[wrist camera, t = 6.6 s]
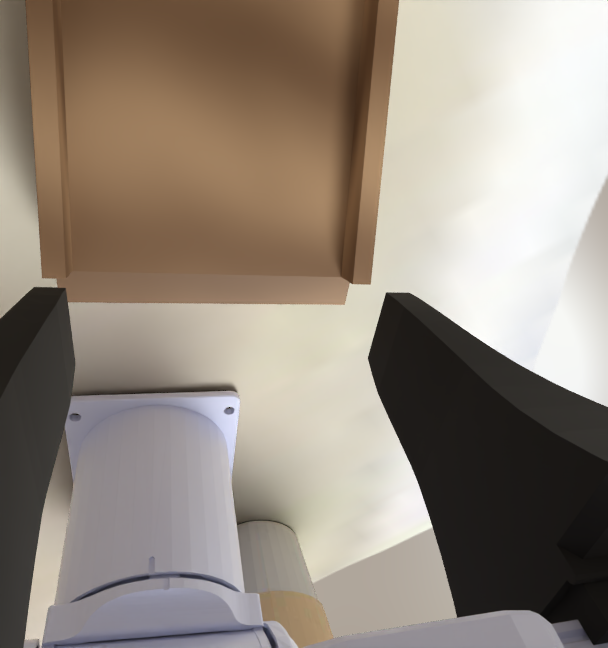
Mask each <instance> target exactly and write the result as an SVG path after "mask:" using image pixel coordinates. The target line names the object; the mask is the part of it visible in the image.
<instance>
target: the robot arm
mask: <svg viewBox="0 0 608 648" xmlns="http://www.w3.org/2000/svg"><path fill="white" fill-rule="evenodd" d="M368 360H369V364H370V368H371V371H372V375H373V379H374V382H375V385H376V388H377V392H378V394H379V396H380V399H381V401H382V403H383V406H384V408H385V410H386V412H387V414H388V417H389V419H390V421H391V423H392V425H393V427H394V430H395V432H396V434H397V436H398V438H399V440H400V443H401V445H402V447H403V449H404V451H405V453H406V455H407V458H408V460H409V462H410V464H411V466H412V469H413V471H414V474H415V476H416V479H417V481H418V484H419V486H420V489H421V492H422V495H423V498H424V501H425V504H426V507H427V510H428V513H429V516H430V520H431V523H432V526H433V530H434V533H435V536H436V539H437V543H438V546H439V549H440V553H441V556H442V560H443V564H444V567H445V571H446V575H447V578H448V582H449V586H450V590H451V594H452V598H453V601H454V605H455V609H456V614H457V618H453V619H446V620H440V621H433V622H427V623H421V624H415V625H409V626H403V627H396V628H389V629H383V630H377V631H370V632H364V633H358V634H352V635H346V636H341V637H337V638H334V639H330V640H327V641H323V642H319V643H316V644H312V645H309V646H305V647H303V648H608V407H606V406H604V405H601V404H599V403H596V402H594V401H592V400H589V399H587V398H585V397H583V396H580V395H578V394H576V393H574V392H571V391H569V390H567V389H565V388H563V387H561V386H559V385H556V384H554V383H552V382H550V381H548V380H546V379H545V378H543V377H541V376H539V375H537V374H535V373H533V372H531V371H530V370H528V369H526V368H524V367H522V366H521V365H519V364H517V363H515V362H514V361H512V360H510V359H509V358H507V357H506V356H504V355H502V354H501V353H499V352H497V351H496V350H494V349H493V348H491V347H490V346H488V345H486V344H485V343H483V342H482V341H480V340H479V339H477V338H476V337H474V336H473V335H471V334H470V333H469V332H467V331H466V330H464V329H463V328H461V327H460V326H458V325H457V324H456V323H454V322H453V321H451V320H450V319H448V318H447V317H446V316H444V315H443V314H441V313H440V312H438V311H437V310H436V309H434V308H433V307H431V306H430V305H428V304H427V303H425V302H424V301H422V300H421V299H419V298H417V297H416V296H414V295H412V294H410V293H386V295H385V299H384V302H383V306H382V309H381V313H380V317H379V320H378V324H377V327H376V331H375V335H374V338H373V342H372V345H371V349H370V352H369V356H368ZM74 371H75V357H74V349H73V341H72V333H71V325H70V317H69V309H68V301H67V292H66V288H50V287H34V288H33V289H32V290H30V291H29V292H28V293H27V294H26V295H25V296H24V297H23V298H22V299H21V300H20V301H18V302H17V303H16V304H15V305H14V306H13V307H12V308H11V309H10V310H9V311H8V312H7V313H6V314H5V315H4V316H3V317H2V318H1V319H0V648H40V645H39V639H31V640H24V639H25V631H26V623H27V615H28V607H29V600H30V592H31V585H32V578H33V571H34V563H35V556H36V550H37V543H38V537H39V530H40V524H41V517H42V512H43V507H44V503H45V498H46V494H47V490H48V486H49V482H50V479H51V475H52V471H53V468H54V464H55V460H56V456H57V453H58V449H59V445H60V442H61V438H62V434H63V430H64V427H65V432H66V438H67V445H68V451H69V458H70V464H71V471H72V478H73V484H74V485H73V492H72V498H71V504H70V510H69V516H68V523H67V529H66V535H65V541H64V548H63V554H62V560H61V566H60V572H59V579H58V585H57V591H56V597H55V603H54V605H52V606H50V607H49V608H48V612H47V618H46V624H45V630H44V636H43V642H42V648H298V646H297V645H296V643H295V642H294V641H293V639H292V638H291V637H290V636H289V634H288V633H287V631H286V630H285V628H284V627H283V626H282V625H281V624H280V623H278V622H277V621H263V618H262V611H261V604H260V597H259V594H257V593H245V589H244V581H243V573H242V564H241V556H240V548H239V540H238V532H237V523H236V515H235V507H234V499H233V491H232V482H231V481H232V472H233V463H234V453H235V444H236V435H237V426H238V417H239V408H240V398H239V395H238V393H236V392H234V391H211V392H181V393H150V394H120V395H90V396H71V395H72V388H73V379H74ZM227 407H232V408H230V409H225V408H227ZM73 413H77V414H79V415H73Z"/></svg>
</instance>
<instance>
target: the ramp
mask: <svg viewBox="0 0 608 648" xmlns="http://www.w3.org/2000/svg"><path fill="white" fill-rule="evenodd" d="M25 2H26V19H27V35H28V52H29V69H30V85H31V102H32V118H33V135H34V151H35V168H36V184H37V201H38V218H39V234H40V251H41V267H42V278H57V286H58V288H66V292H67V301H68V302H107V303H221V304H335V305H345V301H346V296H347V292H348V288H349V283H352V284H371V275H372V265H373V255H374V245H375V235H376V225H377V215H378V205H379V195H380V185H381V175H382V165H383V155H384V145H385V135H386V125H387V115H388V105H389V95H390V85H391V75H392V65H393V55H394V45H395V35H396V25H397V15H398V5H399V0H25Z"/></svg>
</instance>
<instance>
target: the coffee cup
mask: <svg viewBox="0 0 608 648" xmlns="http://www.w3.org/2000/svg"><path fill="white" fill-rule="evenodd" d="M237 532H238V540H239V548H240V556H241V564H242V573H243V581H244V589H245V593H257V594H259V597H260V604H261V611H262V618H263V621H277V622H278V623H280V624H281V625H282V626H283V627H284V628H285V630H286V631H287V633H288V634H289V636H290V637H291V638H292V639H293V641H294V642H295V643H296V645H297V646H298V648H303V647H305V646H309V645H312V644H316V643H319V642H323V641H327V640H330V639H334V638H333V635H332V632H331V629H330V626H329V623H328V621H327V617H326V614H325V611H324V609H323V606H322V604H321V603H320V602H319V601H318V599H317V596H316V593H315V590H314V587H313V584H312V581H311V578H310V575H309V572H308V569H307V566H306V563H305V560H304V557H303V554H302V551H301V549H300V546H299V543H298V540H297V537H296V534H295V533H294V532H293V531H292V530H291V529H290V528H288V527H287V526H285V525H283V524H280V523H277V522H273V521H250V522H245V523H242V524H238V525H237Z"/></svg>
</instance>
